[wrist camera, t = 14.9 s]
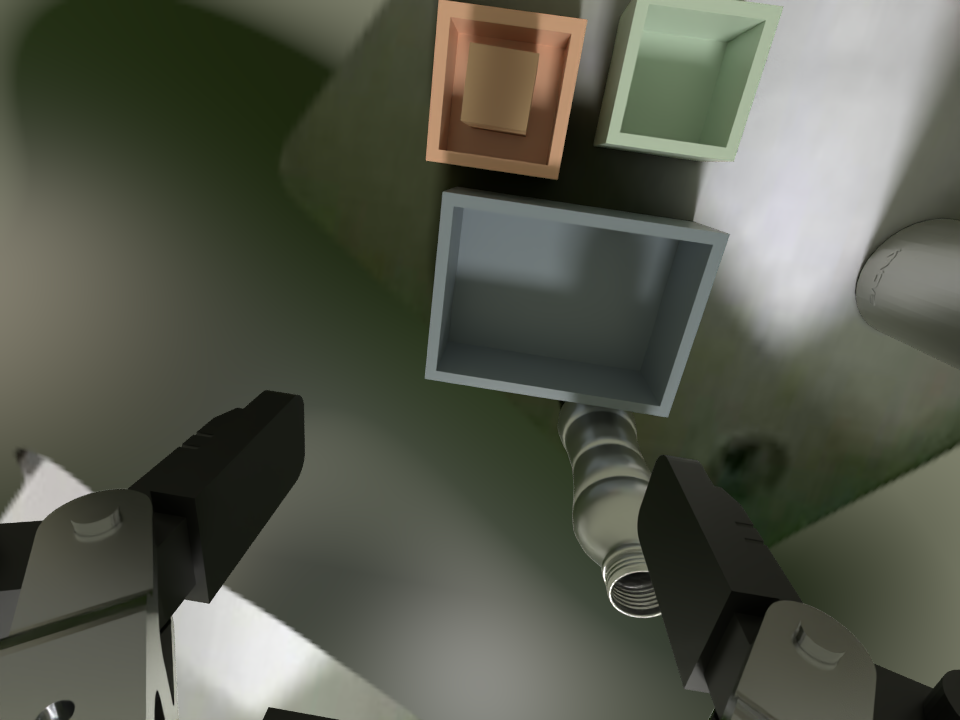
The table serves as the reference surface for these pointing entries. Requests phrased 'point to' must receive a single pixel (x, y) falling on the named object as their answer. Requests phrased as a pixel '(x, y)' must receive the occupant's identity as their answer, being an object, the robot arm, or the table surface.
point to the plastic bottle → (609, 500)
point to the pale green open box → (685, 77)
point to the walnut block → (499, 89)
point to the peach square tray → (550, 97)
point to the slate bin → (567, 299)
